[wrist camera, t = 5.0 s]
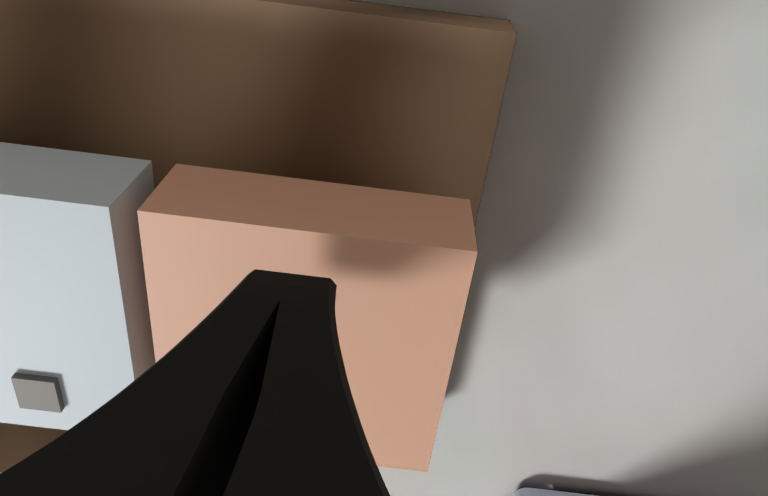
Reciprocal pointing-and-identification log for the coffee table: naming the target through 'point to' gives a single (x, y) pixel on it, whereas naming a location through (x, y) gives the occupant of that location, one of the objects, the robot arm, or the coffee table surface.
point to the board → (256, 95)
